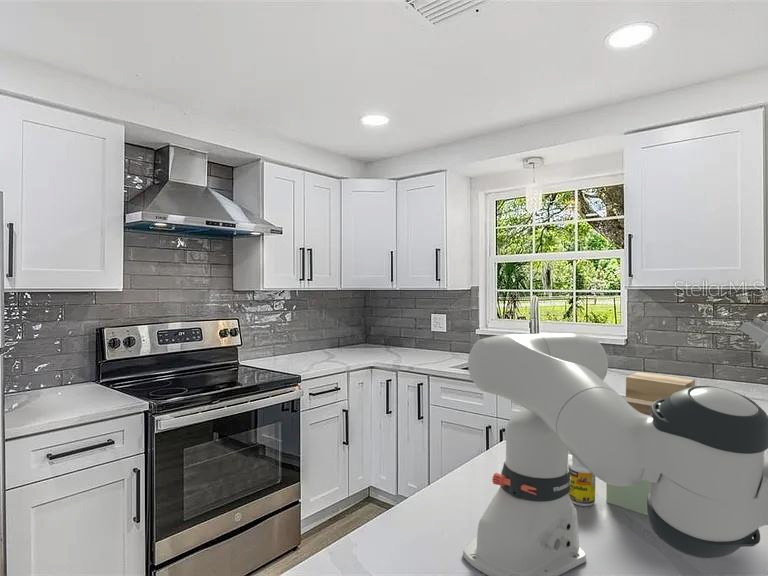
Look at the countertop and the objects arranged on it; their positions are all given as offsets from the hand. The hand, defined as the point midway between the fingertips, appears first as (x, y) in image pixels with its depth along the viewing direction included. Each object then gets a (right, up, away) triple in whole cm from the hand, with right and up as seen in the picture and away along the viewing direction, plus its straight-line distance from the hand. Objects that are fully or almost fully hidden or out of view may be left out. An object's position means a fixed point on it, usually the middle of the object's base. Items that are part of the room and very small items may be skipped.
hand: (747, 323), depth 96 cm
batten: (-13, -21, +8) cm, 26 cm away
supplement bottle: (-27, -40, +13) cm, 50 cm away
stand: (-7, -40, +19) cm, 44 cm away
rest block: (-16, -40, +12) cm, 44 cm away
